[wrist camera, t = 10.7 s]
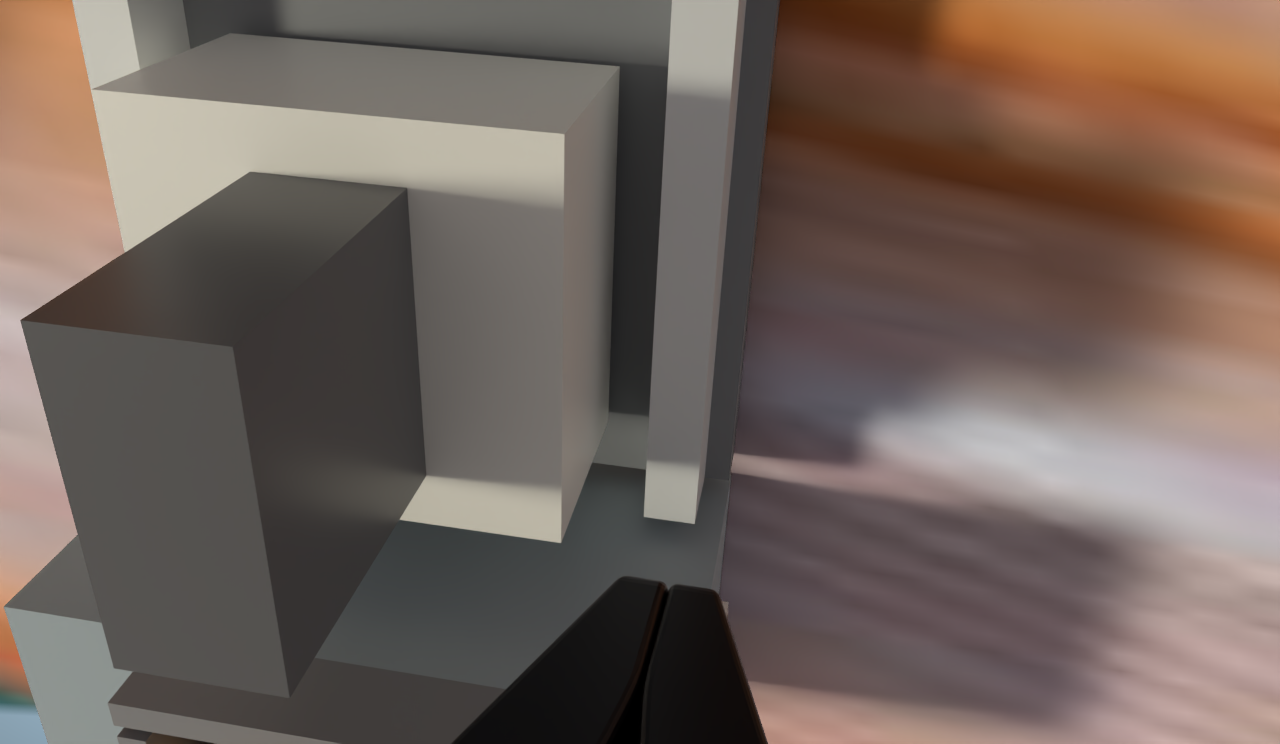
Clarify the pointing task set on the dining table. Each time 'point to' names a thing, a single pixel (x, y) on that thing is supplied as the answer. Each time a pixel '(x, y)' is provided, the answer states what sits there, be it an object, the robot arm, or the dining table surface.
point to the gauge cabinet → (376, 630)
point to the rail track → (645, 176)
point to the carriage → (326, 333)
